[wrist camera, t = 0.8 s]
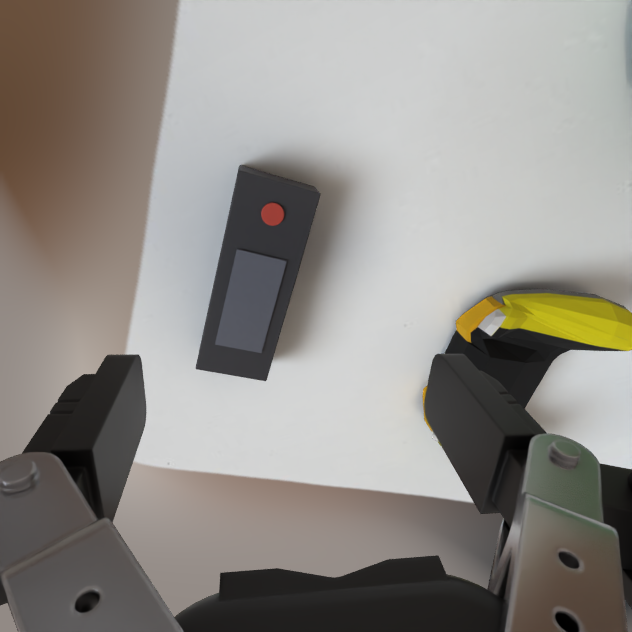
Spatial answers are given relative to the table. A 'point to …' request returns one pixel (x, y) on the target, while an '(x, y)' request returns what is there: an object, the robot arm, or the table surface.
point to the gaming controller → (536, 334)
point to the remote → (256, 272)
